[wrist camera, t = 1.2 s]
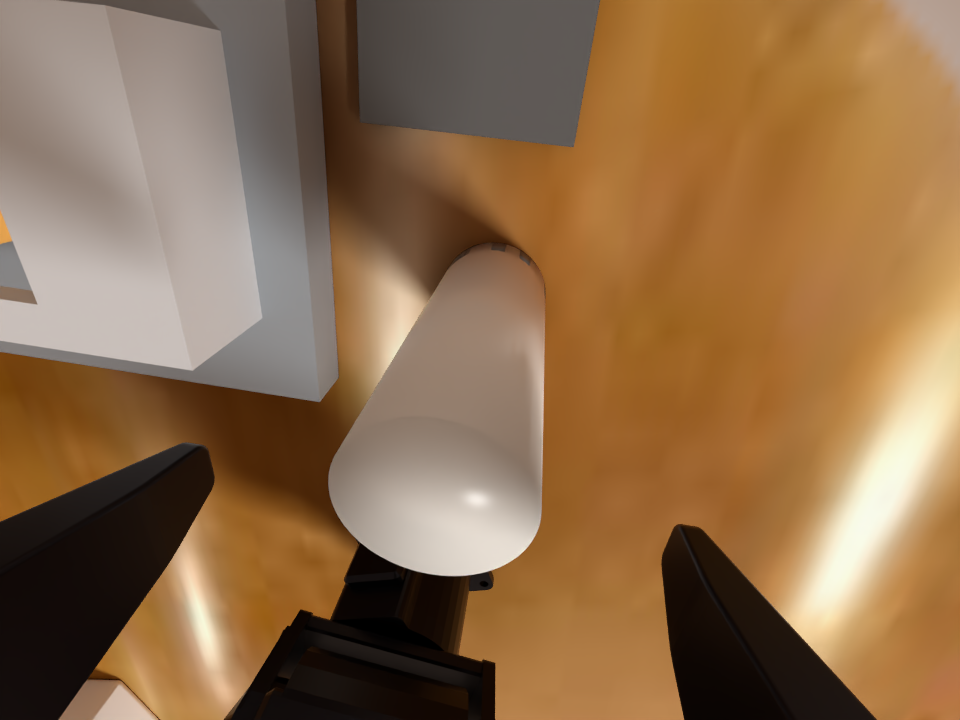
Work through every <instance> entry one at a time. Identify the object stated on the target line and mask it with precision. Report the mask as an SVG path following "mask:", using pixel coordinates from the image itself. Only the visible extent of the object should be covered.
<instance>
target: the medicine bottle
mask: <svg viewBox="0 0 960 720" xmlns="http://www.w3.org/2000/svg"><path fill="white" fill-rule="evenodd" d="M59 720H159V719H158V718H157V717H156V716H155V715H154V714H153V713H152V712H151V711H150V710H149V709H148V708H147V707H146V706H145V705H144V704H143V703H142V702H141V701H140V700H139V699H138V698H137V696H136V695H135V694H134V693H133V692H132V691H131V690H130V689H129V688H128V687H127V686H126V685H125V684H124V683H123V682H122V681H120V680H96V679H87V680H86V682H85V683H84V685H83V686H82V687H81V689H80V690H79V692H78V693H77V694H76V696H75V697H74V699H73V700H72V702H71V703H70V704H69V706H68V707H67V709H66V710H65V711H64V713H63V714H62V716H61V717H60V719H59Z"/></svg>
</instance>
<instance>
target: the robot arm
mask: <svg viewBox="0 0 960 720" xmlns="http://www.w3.org/2000/svg"><path fill="white" fill-rule="evenodd" d="M214 479H215V477H214V472H213V467H212V463H211V459H210V455H209V451H208V449H207V448H206V447H205V446H203V445H199V444H193V443H181V444H178V445H176V446H174V447H171V448H169V449H167V450H165V451H162V452H160V453H158V454H155V455H153V456H151V457H148V458H146V459H144V460H142V461H139V462H137V463H135V464H132V465H130V466H128V467H125V468H123V469H121V470H119V471H116V472H114V473H112V474H109V475H107V476H105V477H102V478H100V479H98V480H95V481H93V482H91V483H89V484H86V485H84V486H82V487H79V488H77V489H75V490H72V491H70V492H68V493H66V494H63V495H61V496H59V497H56V498H54V499H52V500H49V501H47V502H45V503H42V504H40V505H38V506H36V507H33V508H31V509H29V510H26V511H24V512H22V513H19V514H17V515H15V516H12V517H10V518H8V519H6V520H3V521H1V522H0V720H59V719H60V717H61V716H62V714H63V713H64V711H65V710H66V709H67V707H68V706H69V704H70V703H71V702H72V700H73V699H74V697H75V696H76V694H77V693H78V692H79V690H80V689H81V687H82V686H83V685H84V683H85V682H86V680H87V679H88V677H89V676H90V675H91V673H92V672H93V670H94V669H95V668H96V666H97V665H98V663H99V662H100V660H101V659H102V658H103V656H104V655H105V653H106V652H107V651H108V649H109V648H110V646H111V645H112V644H113V642H114V641H115V639H116V638H117V636H118V635H119V634H120V632H121V631H122V629H123V628H124V627H125V625H126V624H127V622H128V621H129V619H130V618H131V617H132V615H133V614H134V612H135V611H136V610H137V608H138V607H139V605H140V604H141V602H142V601H143V600H144V598H145V597H146V595H147V594H148V593H149V591H150V590H151V588H152V587H153V585H154V584H155V583H156V581H157V580H158V578H159V577H160V576H161V574H162V573H163V571H164V570H165V568H166V567H167V565H168V564H169V562H170V561H171V559H172V558H173V556H174V554H175V553H176V551H177V549H178V548H179V546H180V544H181V543H182V541H183V539H184V537H185V536H186V534H187V532H188V530H189V529H190V527H191V525H192V523H193V522H194V520H195V518H196V516H197V515H198V513H199V511H200V509H201V508H202V506H203V504H204V502H205V501H206V499H207V497H208V495H209V494H210V492H211V490H212V488H213V485H214ZM356 540H357V539H356ZM357 542H358V544H359V545H358V547H357V550H356V552H355V554H354V556H353V559H352V561H351V563H350V566H349V568H348V570H347V573H346V575H345V577H344V581H345V586H344V588H343V590H342V593H341V595H340V597H339V600H338V602H337V604H336V607H335V609H334V612H333V614H332V616H331V619H330V620H328V619H325V618H321V617H317V616H314V615H313V613H312V612H308V611H305V610H300V611H299V613H298V614H297V616H296V618H295V619H294V621H293V622H292V624H291V626H287V627H286V629H285V630H283V632H282V634H281V636H280V638H279V640H278V642H277V643H276V645H275V646H274V648H273V650H272V651H271V653H270V655H269V656H268V658H267V659H266V661H265V663H264V664H263V666H262V667H261V669H260V671H259V672H258V674H257V676H256V677H255V679H254V680H253V682H252V684H251V685H250V687H249V688H248V689H247V691H246V692H245V693H244V694H243V696H242V697H241V698H240V700H239V701H238V702H237V703H236V705H235V706H234V707H233V708H232V710H231V711H230V712H229V714H228V715H227V716H226V717H225V719H224V720H495V663H494V662H491V661H487V660H482V662H481V661H478V660H474V659H471V658H467V657H463V656H460V655H459V648H460V642H461V636H462V630H463V624H464V618H465V612H466V606H467V600H468V593H469V591H479V590H488V589H491V588H492V587H493V581H494V577H493V575H492V572H491V571H488V572H484V573H479V574H474V575H466V576H441V575H433V574H427V573H422V572H418V571H414V570H411V569H408V568H404V567H402V566H399V565H397V564H394V563H392V562H390V561H388V560H386V559H384V558H382V557H380V556H379V555H377V554H375V553H374V552H372V551H371V550H369V549H368V548H367V547H365V546H364V545H363V544H362V543H360V542H359V541H358V540H357ZM662 575H663V585H664V595H665V605H666V615H667V625H668V635H669V643H670V652H671V657H672V663H673V668H674V673H675V677H676V682H677V687H678V692H679V697H680V701H681V706H682V711H683V716H684V720H877V719H876V718H875V717H874V716H873V715H872V714H871V713H870V712H869V711H868V709H867V708H866V707H865V706H864V705H863V704H862V703H861V702H860V701H859V700H858V699H857V697H856V696H855V695H854V694H853V693H852V692H851V691H850V690H849V689H848V688H847V687H846V686H845V684H844V683H843V682H842V681H841V680H840V679H839V678H838V677H837V676H836V675H835V674H834V672H833V671H832V670H831V669H830V668H829V667H828V666H827V665H826V664H825V663H824V662H823V660H822V659H821V658H820V657H819V656H818V655H817V654H816V653H815V652H814V651H813V650H812V648H811V647H810V646H809V645H808V644H807V643H806V642H805V641H804V640H803V639H802V638H801V636H800V635H799V634H798V633H797V632H796V631H795V630H794V629H793V628H792V627H791V626H790V624H789V623H788V622H787V621H786V620H785V619H784V618H783V617H782V616H781V615H780V614H779V612H778V611H777V610H776V609H775V608H774V607H773V606H772V605H771V604H770V603H769V602H768V600H767V599H766V598H765V597H764V596H763V595H762V594H761V593H760V592H759V591H758V590H757V588H756V587H755V586H754V585H753V584H752V583H751V582H750V581H749V580H748V579H747V578H746V576H745V575H744V574H743V573H742V572H741V571H740V570H739V569H738V568H737V567H736V566H735V564H734V563H733V562H732V561H731V560H730V559H729V558H728V557H727V556H726V555H725V554H724V552H723V551H722V550H721V549H720V548H719V547H718V546H717V545H716V544H715V543H714V542H713V540H712V539H711V538H710V537H709V536H708V535H707V534H706V533H705V532H704V531H703V530H702V529H701V528H699V527H695V526H689V525H683V524H678V525H676V526H675V527H674V529H673V531H672V533H671V535H670V538H669V540H668V542H667V545H666V547H665V549H664V552H663V555H662Z"/></svg>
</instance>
